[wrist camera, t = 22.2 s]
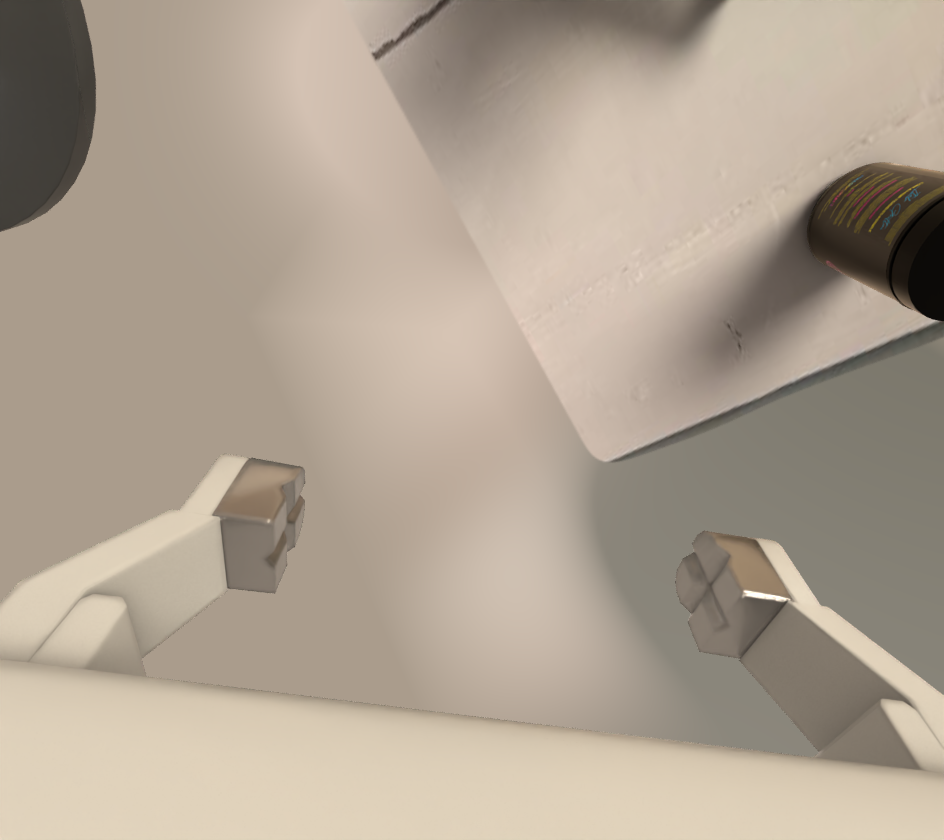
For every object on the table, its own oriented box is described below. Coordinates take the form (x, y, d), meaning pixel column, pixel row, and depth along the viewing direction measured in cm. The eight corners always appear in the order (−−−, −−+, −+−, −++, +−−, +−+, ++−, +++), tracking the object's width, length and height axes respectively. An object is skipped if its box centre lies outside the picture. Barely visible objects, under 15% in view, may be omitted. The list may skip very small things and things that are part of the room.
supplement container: (781, 254, 36) (878, 306, 27) (840, 147, 32) (974, 168, 23) (867, 276, 36) (989, 334, 28) (934, 174, 33) (1099, 204, 24)
